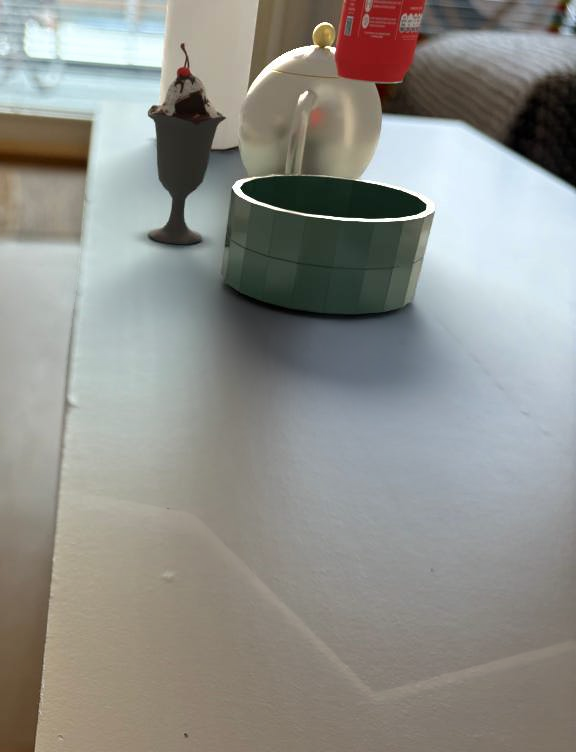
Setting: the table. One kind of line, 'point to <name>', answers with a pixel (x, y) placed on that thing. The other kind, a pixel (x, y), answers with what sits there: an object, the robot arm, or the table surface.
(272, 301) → the green planter pot
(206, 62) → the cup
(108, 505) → the table surface
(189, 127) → the sundae
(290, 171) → the teapot
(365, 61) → the beverage can
